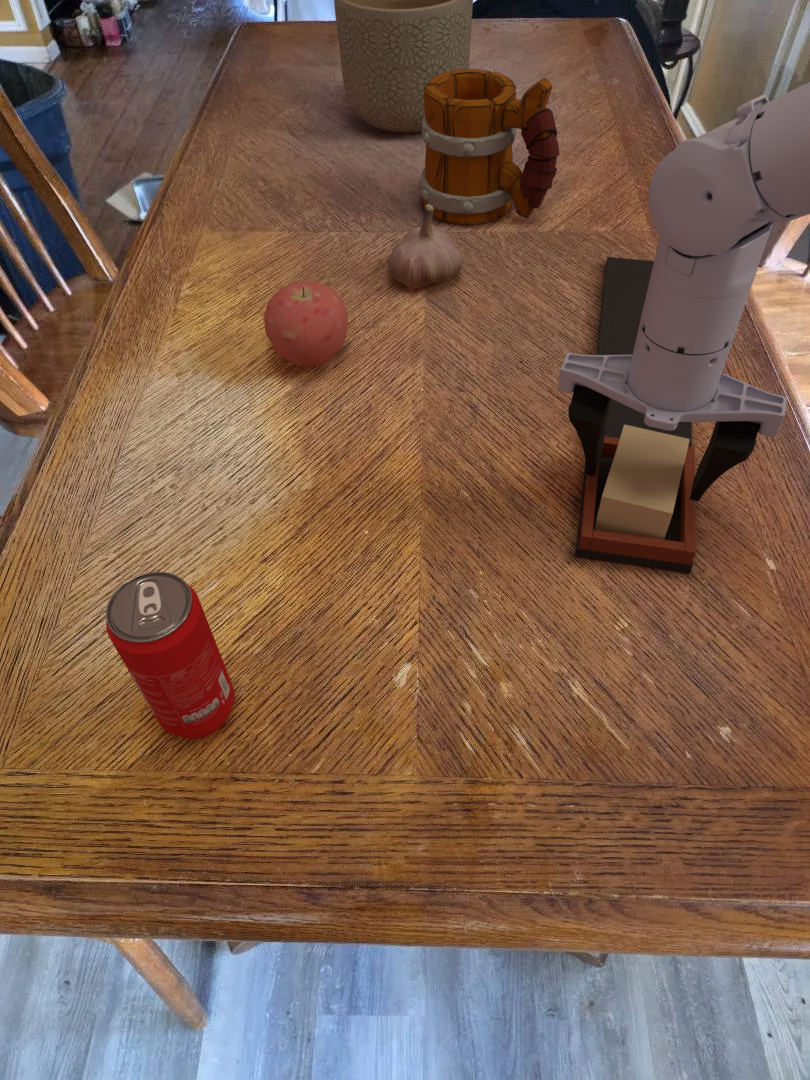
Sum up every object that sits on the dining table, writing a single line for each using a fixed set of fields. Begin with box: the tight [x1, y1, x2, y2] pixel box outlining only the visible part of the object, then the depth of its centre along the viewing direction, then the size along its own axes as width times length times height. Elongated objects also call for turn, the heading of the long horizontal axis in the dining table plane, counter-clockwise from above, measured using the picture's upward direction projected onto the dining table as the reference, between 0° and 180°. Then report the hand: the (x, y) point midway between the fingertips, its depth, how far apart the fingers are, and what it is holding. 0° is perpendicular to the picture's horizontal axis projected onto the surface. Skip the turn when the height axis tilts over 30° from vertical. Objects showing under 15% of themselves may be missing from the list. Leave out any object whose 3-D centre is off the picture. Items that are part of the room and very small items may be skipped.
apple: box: [263, 280, 349, 368], centre depth 74 cm, size 7×7×8 cm
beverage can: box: [105, 571, 235, 740], centre depth 49 cm, size 5×5×12 cm
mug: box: [419, 68, 560, 226], centre depth 88 cm, size 11×16×15 cm, turn 56°
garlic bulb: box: [387, 204, 464, 289], centre depth 82 cm, size 8×7×8 cm
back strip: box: [574, 256, 697, 574], centre depth 72 cm, size 8×40×2 cm, turn 168°
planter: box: [333, 0, 474, 134], centre depth 103 cm, size 17×17×15 cm
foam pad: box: [594, 425, 690, 540], centre depth 61 cm, size 5×8×4 cm, turn 159°
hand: (643, 478), depth 61 cm, fingers open, 7 cm apart
